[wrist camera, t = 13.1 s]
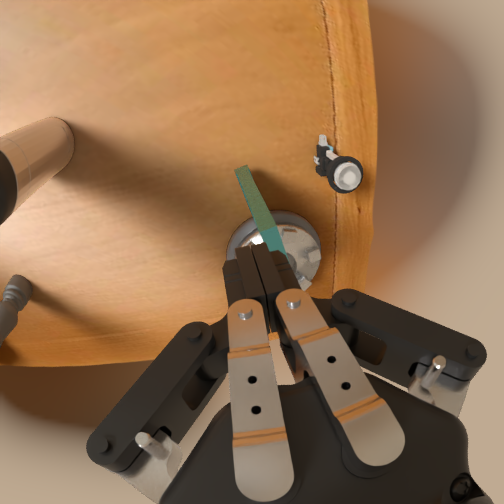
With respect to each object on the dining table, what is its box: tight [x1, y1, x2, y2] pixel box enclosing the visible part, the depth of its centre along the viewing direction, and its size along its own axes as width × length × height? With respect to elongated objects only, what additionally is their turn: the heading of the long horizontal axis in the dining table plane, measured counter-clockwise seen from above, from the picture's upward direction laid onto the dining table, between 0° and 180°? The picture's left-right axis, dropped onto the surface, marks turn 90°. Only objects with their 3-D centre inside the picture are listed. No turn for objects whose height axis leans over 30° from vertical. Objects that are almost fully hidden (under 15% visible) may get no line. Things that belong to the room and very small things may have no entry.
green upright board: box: [234, 165, 321, 291], centre depth 41 cm, size 26×15×19 cm, turn 19°
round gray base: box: [226, 210, 321, 260], centre depth 52 cm, size 17×17×2 cm
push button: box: [314, 135, 363, 194], centre depth 40 cm, size 7×5×10 cm
